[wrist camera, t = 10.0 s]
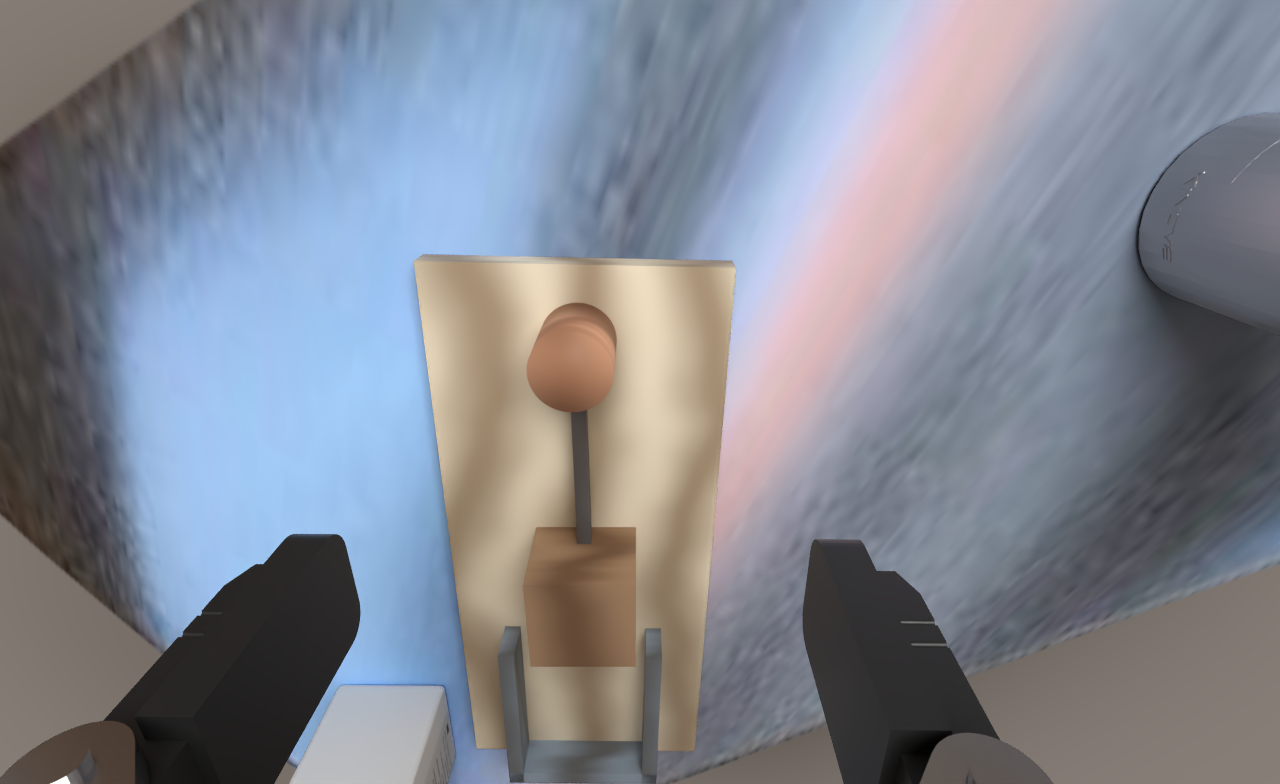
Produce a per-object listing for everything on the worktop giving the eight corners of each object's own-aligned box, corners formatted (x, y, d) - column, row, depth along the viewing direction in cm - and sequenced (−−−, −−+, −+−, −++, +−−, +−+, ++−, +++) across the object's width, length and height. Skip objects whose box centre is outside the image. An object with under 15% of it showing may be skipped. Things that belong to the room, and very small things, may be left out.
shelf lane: (731, 260, 33) (743, 281, 29) (692, 732, 48) (697, 784, 44) (422, 254, 33) (396, 273, 29) (481, 730, 48) (468, 781, 44)
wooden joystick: (635, 302, 32) (635, 335, 28) (635, 603, 41) (635, 666, 36) (518, 302, 32) (498, 335, 28) (542, 603, 41) (530, 666, 36)
